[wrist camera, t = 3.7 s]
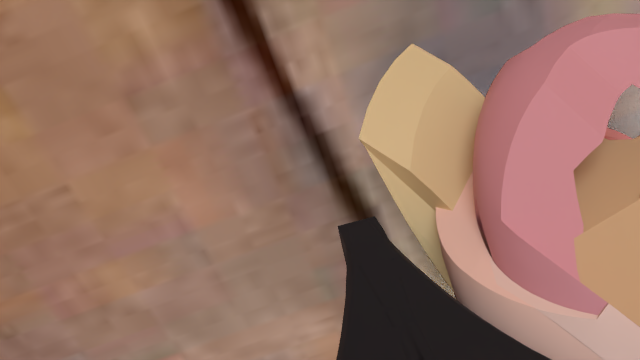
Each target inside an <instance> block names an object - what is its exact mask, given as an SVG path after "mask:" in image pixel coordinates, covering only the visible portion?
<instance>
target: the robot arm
mask: <svg viewBox="0 0 640 360" xmlns="http://www.w3.org/2000/svg"><path fill="white" fill-rule="evenodd" d="M338 229H339V234H340V238H341V243H342V247H343V252H344V256H345V261H346V265H347V276H346V298H345V308H344V316H343V324H342V332H341V338H340V344H339V349H338V355H337V359H336V360H552V359H550V358H548V357H546V356H544V355H542V354H540V353H538V352H536V351H534V350H532V349H531V348H529V347H527V346H525V345H524V344H522V343H520V342H519V341H517V340H515V339H514V338H512V337H510V336H509V335H507V334H505V333H504V332H502V331H501V330H499V329H497V328H496V327H494V326H493V325H491V324H490V323H488V322H487V321H485V320H484V319H482V318H481V317H479V316H478V315H476V314H475V313H474V312H472V311H471V310H469V309H468V308H467V307H465V306H464V305H463V304H461V303H460V302H459V301H457V300H456V299H455V298H453V297H452V296H451V295H450V294H448V293H447V292H446V291H444V290H443V289H442V288H441V287H439V286H438V285H437V284H436V283H435V282H433V281H432V280H431V279H430V278H429V277H428V276H427V275H425V274H424V273H423V272H422V271H421V270H420V269H419V268H417V267H416V266H415V265H414V264H413V263H412V262H411V261H410V260H409V259H408V258H407V257H405V256H404V255H403V254H402V253H401V252H400V251H399V250H398V249H397V248H396V247H395V246H394V245H393V244H392V243H391V242H390V240H389V239H388V238H387V235H386V234H385V232H384V230H383V228H382V227H381V225H380V224H379V222H378V221H377V219H376V218H375V216H374V217H371V218H367V219H363V220H359V221H356V222H352V223H348V224H344V225H341V226H338Z"/></svg>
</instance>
